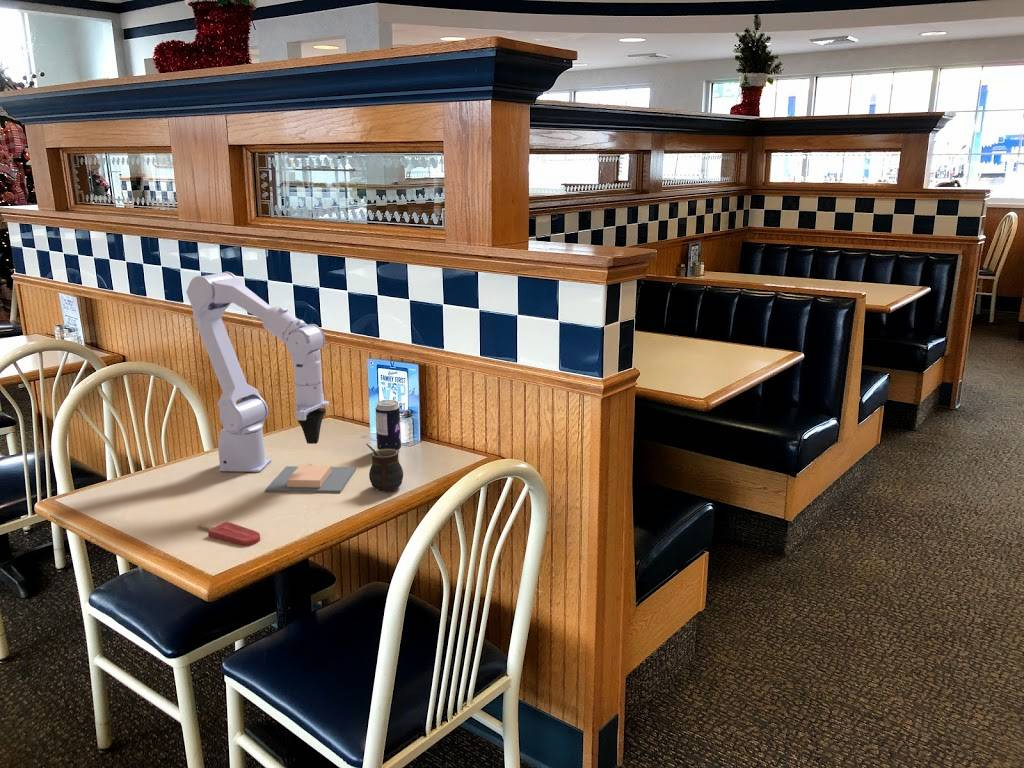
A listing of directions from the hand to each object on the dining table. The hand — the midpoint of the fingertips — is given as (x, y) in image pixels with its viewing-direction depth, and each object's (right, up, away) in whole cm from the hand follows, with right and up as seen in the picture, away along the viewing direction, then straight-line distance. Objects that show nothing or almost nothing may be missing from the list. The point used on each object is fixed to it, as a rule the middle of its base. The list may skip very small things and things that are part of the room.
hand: (312, 442), depth 178 cm
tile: (0, -6, +3) cm, 6 cm away
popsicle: (-9, -16, -27) cm, 32 cm away
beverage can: (+14, -3, +19) cm, 24 cm away
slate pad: (0, -8, 0) cm, 8 cm away
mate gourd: (+17, -10, -5) cm, 20 cm away
